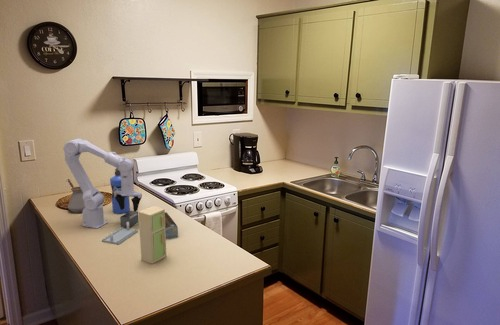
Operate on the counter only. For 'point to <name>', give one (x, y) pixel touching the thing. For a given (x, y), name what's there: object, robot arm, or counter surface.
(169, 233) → the beverage carton
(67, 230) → the counter surface
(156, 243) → the toy refrigerator
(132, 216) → the block
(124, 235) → the tray
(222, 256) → the counter surface
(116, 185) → the water bottle
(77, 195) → the coffee pot
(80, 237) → the counter surface
